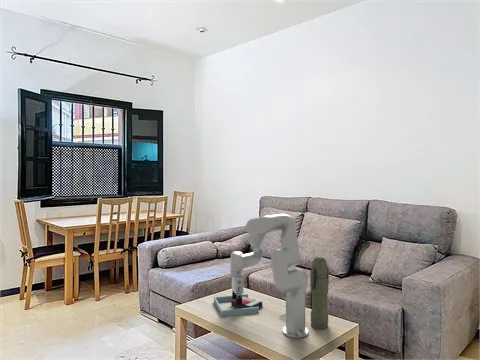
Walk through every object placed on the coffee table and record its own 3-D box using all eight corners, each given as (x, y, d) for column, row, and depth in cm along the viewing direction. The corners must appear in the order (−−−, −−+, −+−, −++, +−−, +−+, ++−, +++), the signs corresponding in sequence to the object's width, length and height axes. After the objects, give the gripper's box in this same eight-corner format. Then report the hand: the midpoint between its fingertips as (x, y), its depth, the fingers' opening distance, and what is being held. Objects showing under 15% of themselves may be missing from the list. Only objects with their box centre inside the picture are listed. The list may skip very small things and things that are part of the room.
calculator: (242, 295, 229) (262, 300, 219) (243, 302, 229) (262, 307, 219) (230, 300, 220) (250, 305, 210) (231, 308, 220) (251, 313, 210)
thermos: (333, 325, 194) (333, 258, 192) (319, 332, 186) (319, 262, 184) (319, 320, 200) (319, 255, 199) (305, 326, 192) (305, 258, 191)
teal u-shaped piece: (258, 312, 211) (258, 307, 211) (221, 316, 205) (221, 311, 205) (247, 298, 233) (247, 293, 232) (213, 302, 227) (213, 297, 227)
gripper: (247, 276, 211) (247, 306, 212) (239, 268, 228) (239, 296, 229) (234, 277, 209) (234, 308, 210) (227, 269, 226) (227, 297, 227)
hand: (237, 301), depth 219 cm, fingers open, 9 cm apart
